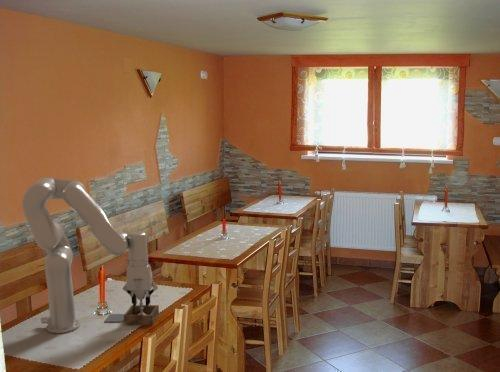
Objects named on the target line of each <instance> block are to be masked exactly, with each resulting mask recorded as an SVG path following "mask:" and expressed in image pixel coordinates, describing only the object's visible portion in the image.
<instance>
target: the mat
mask: <svg viewBox="0 0 500 372" xmlns="http://www.w3.org/2000/svg"><path fill="white" fill-rule="evenodd" d="M124 315H125V313H110V314H108V316H107V317H106V318H105V320H104V321H103V323H124Z"/></svg>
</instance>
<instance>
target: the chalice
mask: <svg viewBox="0 0 500 372" xmlns="http://www.w3.org/2000/svg"><path fill="white" fill-rule="evenodd" d="M133 281H134V282H135V285H136V290H135V291H134V293H135V295H136V298H137V300H138V301H139V305H140V308H139V309H140V310H141V312H140V314H138V315H146V314H145V313H143V305H144V303H143V300H144V299H145V297H146V292H145V291H142V289H141V282H142V281H143V280H133Z"/></svg>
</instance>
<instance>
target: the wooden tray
mask: <svg viewBox="0 0 500 372" xmlns="http://www.w3.org/2000/svg"><path fill="white" fill-rule="evenodd" d="M159 307H160V306H159V305H158V304H149V305H148V306H146V304H143V313H145V314H146V315H138V314H140V312H141V310H140V309H139V308H140V304H136V306H133V304H132V305H130V307H129V308H128V310H127V311H126V312H125V313H124V314H125V315H124V322H123V323H124V326H153V325H154V324H155V322H156V320H157V318H158V317H159V315H160V309H159Z"/></svg>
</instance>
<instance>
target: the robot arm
mask: <svg viewBox="0 0 500 372" xmlns="http://www.w3.org/2000/svg"><path fill="white" fill-rule="evenodd" d="M52 199H53V200H60V201H61V200H62V201H64V202H65V203H66V205H67V206H68V207H69V208H70V209H71V210H72V211H73V212H74V213H75V215H77V216H78V217H79V218H80V220H81V221H82V222H83V223H84V224H85V225H86V227H87V228H88V229H89V231H90V232H91V233H92V234H93V236H94V237H95V239H97V241H98V243H100V244H101V245H102V246H103V248H104V249H105V250H107V251H108V253H110V254H112V255H113V256H122V255H124V254H125V253H126V251H127V250H128V259H125V263H127V264H128V266H127V268H126V279H125V280H126V282H125V284H124V285H123V287H122V290H123V291H124V292H126V293H127V294H128V295H129V297H130V298H131V304H132V305H133V306H136V305H138V304H137V303H138V301H137V300H138V299H137V297H136V295H135V293H134V291H135V290H136V285H135V282H134V281H133V280H143V281H142V282H141V289H142V291H145V292H146V295H145V298H144V299H145V305H146V306H148V305H151V295H152V294H153V293H154V292H156V291H157V290H158V288H159V286H158V285H157V284H156V283H155V282H154V278H153V272H152V267H151V264H150V263H149V254H148V253H149V252H148V236H147V233H146V232H145V231H140V230H139V231H132V232H131V231H130V232H129V231H117V230H116V229H115V228H114V227H113V226H112V225H111V223H110V222H109V219H108V217H107V215H106V213H105V211H104V210H103V208H101V206H100V205H99V204H98V203H97V202H96V201H95V200H94V198H93V197H91V196H90V194H89V193H88V192H87V189H86V186H85V184H83V183H82V182H81V181H78V180H73V179H62V178H54V177H42V178H39V179H38V180H36V181H35V182H34V183H33V184H32V185H30V187H28V189H27V190H26V191H25V193H24V195H23V198H22V202H21V207H22V211H23V214H24V216H25V218H26V219H25V220H26V222H27V223H28V226H29V229H30V231H31V233H32V236H33V238H34V241H35V243H36V245H37V246H38V247H39V248H40V249H42V250H44V251H45V252H46V255H47V256H46V258H45V262H44V273H45V274H44V275H45V279H46V287H47V296H48V297H47V299H48V311H49V316H41V318H40V322H41V324H47V325H46V331H48V333H51V334H64V333H68V332H69V331H70V332H73V331H75V330H76V329H78V328H79V327H80V326H81V323H80V321H79V320H78V319H76V310H75V309H76V308H75V299H74V298H75V296H74V286H73V277H72V267H71V266H72V262H73V260H74V259H73V258H74V253H73V249H72V248H71V245H70V242H69V241H68V238H67V236H66V234H65V232H64V229H63V227H62V225H60V224H59V223H58V222H56V221H53V219H52V216H51V214H50V212H49V210H48V208H47V205H46V204H47V203H48V202H49V201H50V200H52ZM70 332H69V333H70Z"/></svg>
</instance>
